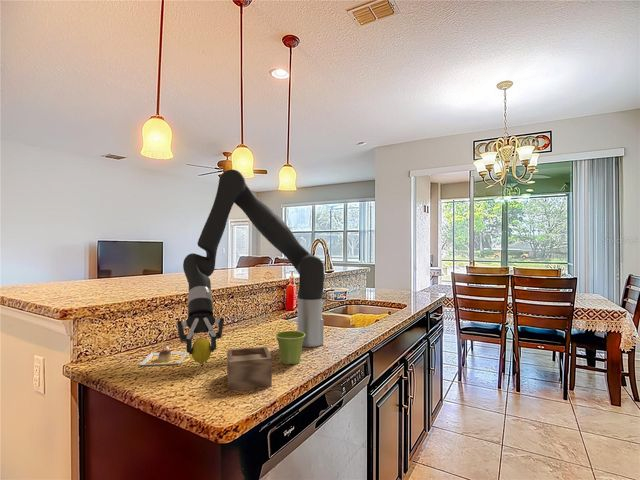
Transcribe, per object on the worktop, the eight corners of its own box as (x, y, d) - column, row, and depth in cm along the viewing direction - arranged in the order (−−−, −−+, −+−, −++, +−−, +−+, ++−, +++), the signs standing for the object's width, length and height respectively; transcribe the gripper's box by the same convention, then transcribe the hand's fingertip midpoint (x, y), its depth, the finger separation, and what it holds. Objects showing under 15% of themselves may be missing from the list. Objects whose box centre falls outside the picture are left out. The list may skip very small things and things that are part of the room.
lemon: (194, 361, 104) (194, 334, 104) (213, 360, 105) (213, 334, 105) (188, 368, 99) (188, 340, 99) (208, 367, 99) (208, 339, 99)
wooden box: (266, 372, 101) (266, 346, 102) (271, 387, 91) (272, 358, 91) (227, 375, 98) (227, 349, 98) (228, 391, 88) (228, 361, 88)
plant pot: (293, 369, 104) (293, 340, 104) (269, 363, 109) (269, 335, 109) (310, 360, 112) (311, 333, 112) (287, 355, 117) (287, 329, 117)
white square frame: (138, 368, 104) (138, 352, 104) (150, 356, 116) (151, 341, 116) (180, 366, 106) (180, 351, 106) (188, 354, 118) (188, 340, 118)
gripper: (176, 297, 106) (174, 347, 95) (224, 295, 112) (228, 342, 100) (176, 312, 111) (175, 361, 100) (222, 309, 117) (226, 355, 105)
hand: (201, 351), depth 100 cm, fingers closed on lemon, 5 cm apart
